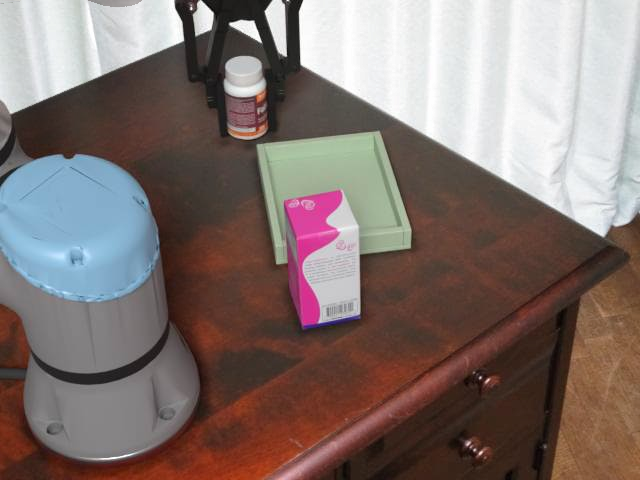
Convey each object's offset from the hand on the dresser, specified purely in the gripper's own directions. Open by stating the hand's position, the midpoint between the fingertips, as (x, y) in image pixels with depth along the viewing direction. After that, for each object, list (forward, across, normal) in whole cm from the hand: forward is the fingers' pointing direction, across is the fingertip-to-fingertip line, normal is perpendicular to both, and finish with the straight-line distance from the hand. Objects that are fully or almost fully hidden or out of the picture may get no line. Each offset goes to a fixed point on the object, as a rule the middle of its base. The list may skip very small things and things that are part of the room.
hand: (247, 126), depth 129 cm
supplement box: (+2, -4, +28) cm, 29 cm away
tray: (+1, -7, +14) cm, 16 cm away
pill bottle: (+1, 0, 0) cm, 1 cm away
